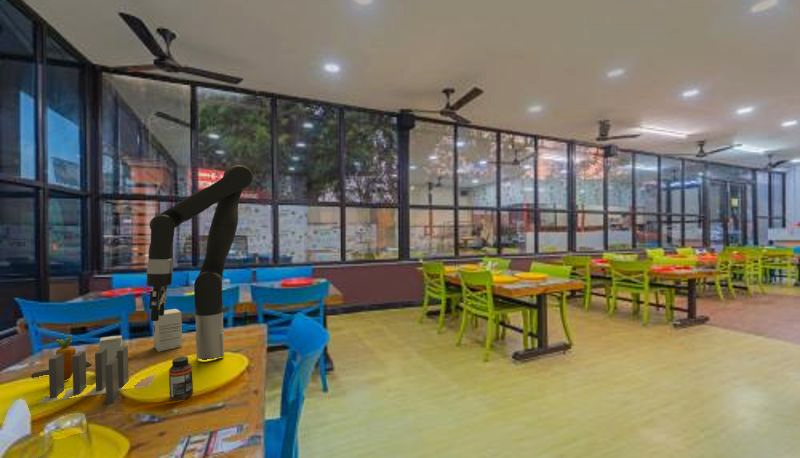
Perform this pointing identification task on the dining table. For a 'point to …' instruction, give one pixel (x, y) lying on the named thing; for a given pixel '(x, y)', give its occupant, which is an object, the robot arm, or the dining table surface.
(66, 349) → the carrot
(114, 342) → the skincare box
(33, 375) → the phone
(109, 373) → the domino
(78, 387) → the domino
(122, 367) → the domino
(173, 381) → the supplement bottle
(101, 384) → the domino
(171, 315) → the supplement box
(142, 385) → the domino mat
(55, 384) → the domino far
